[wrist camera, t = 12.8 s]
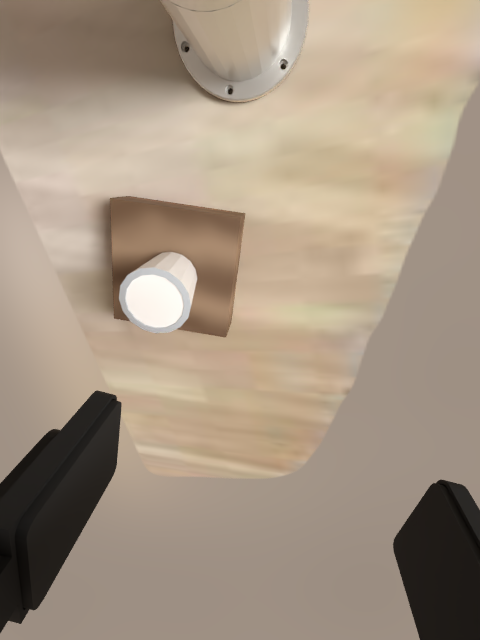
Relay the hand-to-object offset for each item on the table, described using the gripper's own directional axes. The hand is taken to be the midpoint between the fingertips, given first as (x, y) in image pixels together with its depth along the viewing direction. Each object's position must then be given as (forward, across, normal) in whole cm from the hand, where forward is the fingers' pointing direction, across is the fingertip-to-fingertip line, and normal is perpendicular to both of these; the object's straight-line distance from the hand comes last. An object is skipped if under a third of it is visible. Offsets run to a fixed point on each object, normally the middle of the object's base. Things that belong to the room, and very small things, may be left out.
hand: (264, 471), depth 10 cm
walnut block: (+33, +11, +4) cm, 35 cm away
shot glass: (+28, +11, +5) cm, 30 cm away
